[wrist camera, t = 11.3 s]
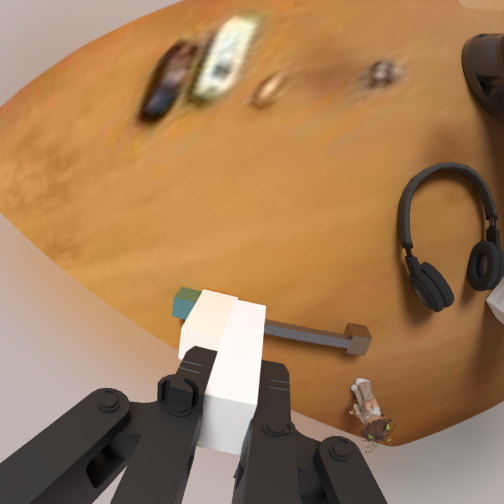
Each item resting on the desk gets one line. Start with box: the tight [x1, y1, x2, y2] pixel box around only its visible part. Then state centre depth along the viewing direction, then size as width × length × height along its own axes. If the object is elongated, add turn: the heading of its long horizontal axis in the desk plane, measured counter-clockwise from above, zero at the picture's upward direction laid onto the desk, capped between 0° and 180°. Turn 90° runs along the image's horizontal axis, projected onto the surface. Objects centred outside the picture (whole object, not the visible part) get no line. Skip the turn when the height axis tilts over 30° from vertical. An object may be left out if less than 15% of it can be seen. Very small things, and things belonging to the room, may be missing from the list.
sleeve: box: [178, 289, 238, 360], centre depth 37 cm, size 5×4×11 cm
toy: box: [349, 378, 395, 453], centre depth 38 cm, size 6×6×15 cm
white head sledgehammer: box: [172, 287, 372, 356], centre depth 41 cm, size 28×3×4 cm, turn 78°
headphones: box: [399, 162, 504, 312], centre depth 35 cm, size 17×7×20 cm
